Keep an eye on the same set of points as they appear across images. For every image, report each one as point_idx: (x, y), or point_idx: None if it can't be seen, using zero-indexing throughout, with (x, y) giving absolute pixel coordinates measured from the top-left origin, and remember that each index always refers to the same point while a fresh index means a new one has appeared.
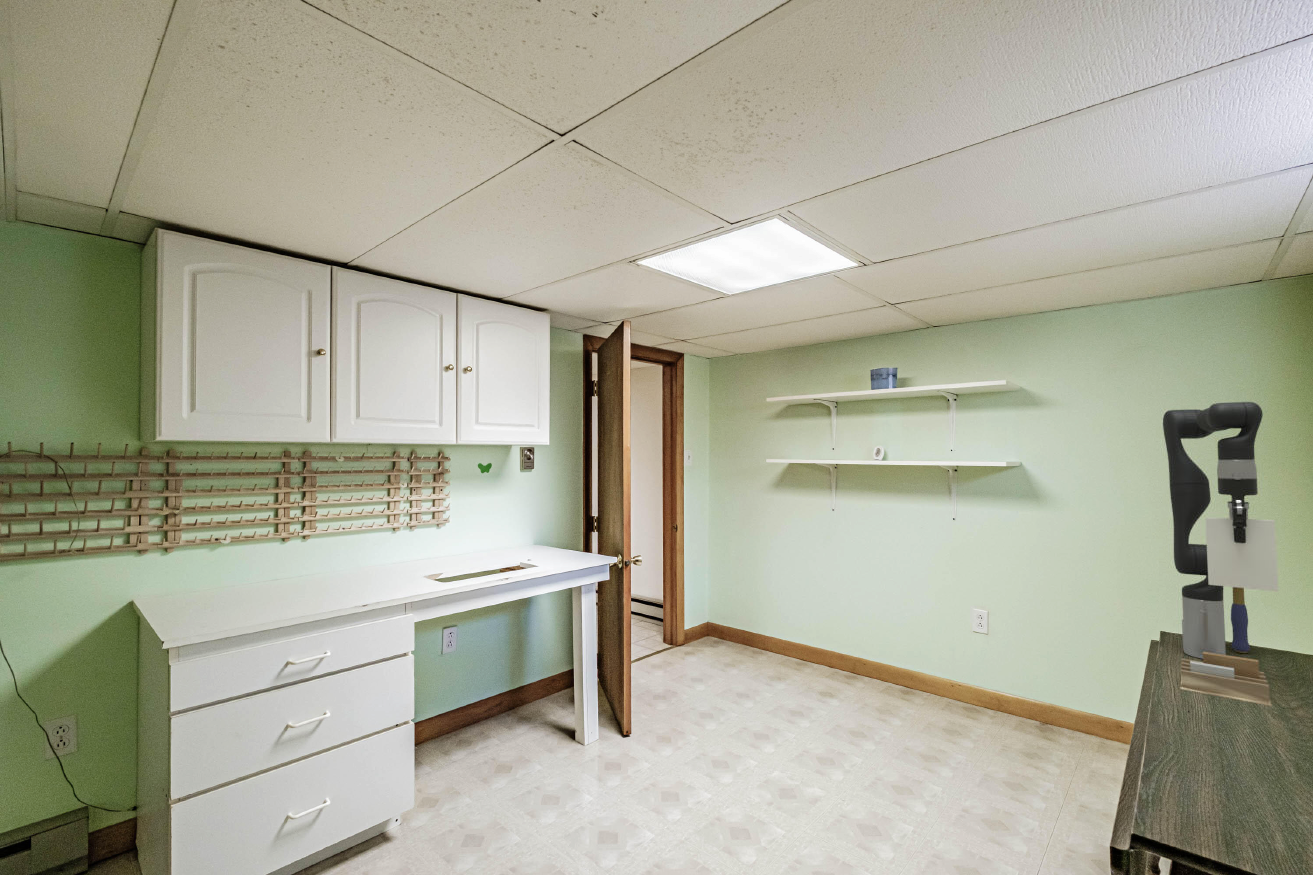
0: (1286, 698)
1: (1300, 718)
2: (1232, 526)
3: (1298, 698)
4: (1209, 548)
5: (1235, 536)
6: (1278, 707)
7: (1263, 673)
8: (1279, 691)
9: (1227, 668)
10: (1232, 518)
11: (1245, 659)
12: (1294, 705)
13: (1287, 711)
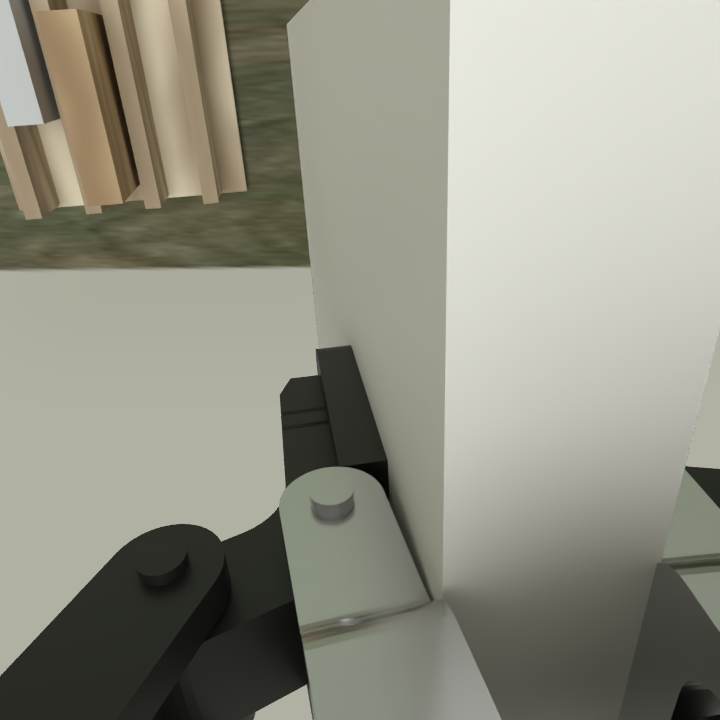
0: (215, 235)
1: (25, 266)
2: (309, 485)
3: (244, 259)
4: (315, 31)
5: (320, 400)
6: (88, 219)
7: (203, 200)
8: (281, 218)
9: (14, 104)
10: (305, 661)
11: (92, 166)
12: (154, 252)
13: (67, 239)
